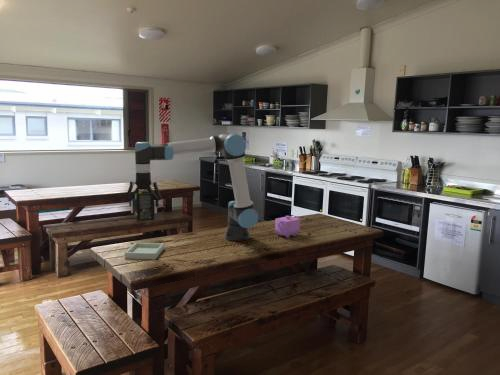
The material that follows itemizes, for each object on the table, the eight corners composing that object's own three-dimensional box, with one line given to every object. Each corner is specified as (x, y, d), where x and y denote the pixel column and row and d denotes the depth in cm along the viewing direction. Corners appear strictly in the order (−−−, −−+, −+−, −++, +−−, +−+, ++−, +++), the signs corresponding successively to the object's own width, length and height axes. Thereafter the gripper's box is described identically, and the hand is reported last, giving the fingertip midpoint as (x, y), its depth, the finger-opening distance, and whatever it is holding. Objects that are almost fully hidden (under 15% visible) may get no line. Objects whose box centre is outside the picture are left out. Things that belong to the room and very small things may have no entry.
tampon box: (133, 217, 229) (133, 190, 226) (151, 215, 232) (150, 189, 230) (136, 221, 219) (135, 193, 216) (154, 220, 222) (154, 192, 220)
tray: (164, 248, 237) (163, 243, 237) (155, 259, 219) (155, 253, 219) (135, 247, 238) (135, 242, 237) (124, 258, 220) (124, 252, 220)
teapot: (283, 239, 259) (284, 219, 257) (272, 235, 267) (272, 216, 265) (305, 234, 272) (306, 215, 270) (294, 230, 280) (294, 212, 277)
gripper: (167, 171, 225) (168, 211, 228) (123, 170, 226) (124, 210, 229) (163, 173, 217) (164, 214, 221) (118, 172, 218) (119, 213, 222)
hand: (144, 212), depth 225 cm, fingers closed on tampon box, 11 cm apart
